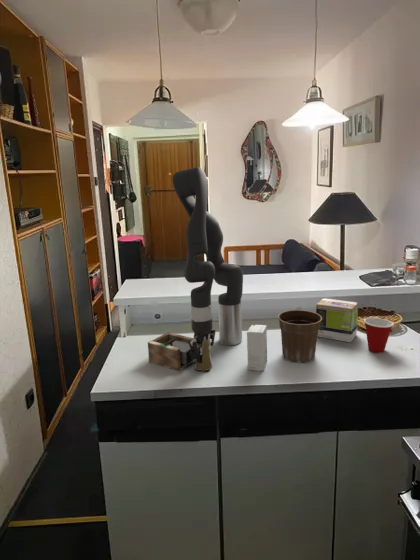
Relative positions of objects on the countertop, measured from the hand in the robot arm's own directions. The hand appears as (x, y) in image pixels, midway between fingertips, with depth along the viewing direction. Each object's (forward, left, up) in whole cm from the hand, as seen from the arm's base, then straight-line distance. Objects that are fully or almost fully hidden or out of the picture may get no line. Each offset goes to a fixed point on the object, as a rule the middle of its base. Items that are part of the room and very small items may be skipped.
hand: (203, 360), depth 156 cm
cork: (0, 0, -2) cm, 2 cm away
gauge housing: (0, -14, -3) cm, 15 cm away
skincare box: (-12, +16, -3) cm, 20 cm away
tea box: (-53, +32, -4) cm, 62 cm away
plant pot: (-27, +26, -3) cm, 38 cm away
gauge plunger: (+1, -10, -1) cm, 10 cm away
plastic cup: (-47, +50, -3) cm, 69 cm away
